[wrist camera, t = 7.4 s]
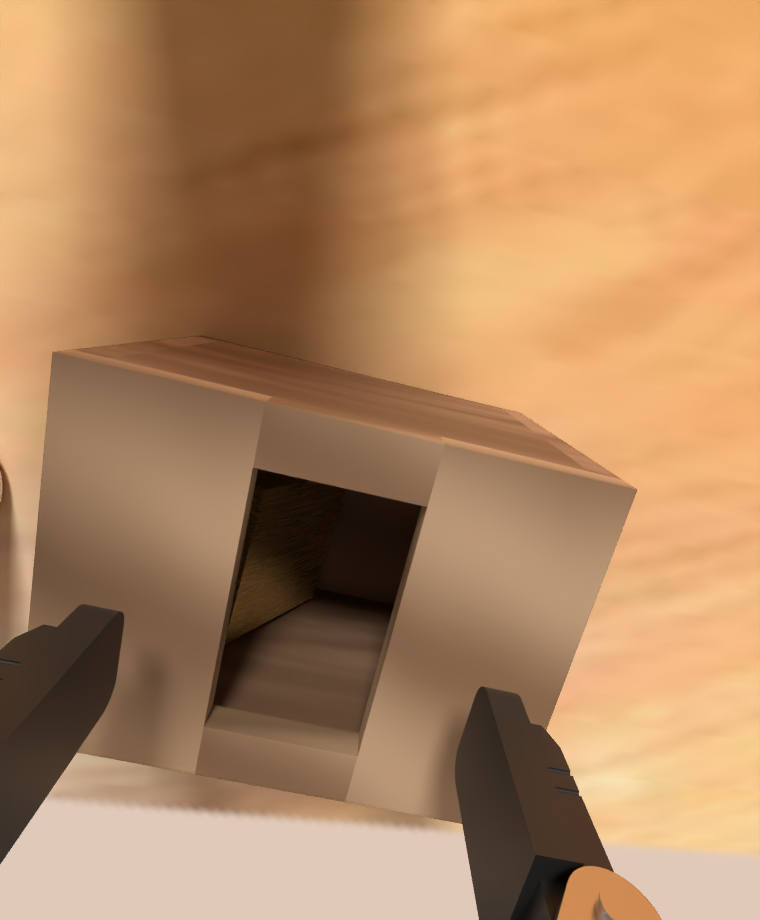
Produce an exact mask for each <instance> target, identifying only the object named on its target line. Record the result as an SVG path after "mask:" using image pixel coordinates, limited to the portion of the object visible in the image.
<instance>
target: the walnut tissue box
mask: <svg viewBox="0 0 760 920" xmlns="http://www.w3.org/2000/svg"><path fill="white" fill-rule="evenodd" d="M258 469H262V470H266V471H270V472H275V473H279V474H284V475H288V476H292V477H297V478H301V479H306V480H310V481H314V482H319V483H323V484H328V485H332V486H337V487H341V488H345V492H344V495H343V498H342V501H341V505H340V508H339V511H338V515H337V518H336V521H335V524H334V528H333V531H332V534H331V538H330V541H329V544H328V547H327V551H326V554H325V557H324V561H323V564H322V567H321V570H320V574H319V577H318V580H317V584H316V587H315V590H314V593H313V597H312V598H310V599H309V600H307V601H305V602H303V603H301V604H299V605H297V606H296V607H294V608H292V609H290V610H288V611H286V612H285V613H283V614H281V615H279V616H277V617H275V618H273V619H272V620H270V621H268V622H266V623H264V624H262V625H260V626H259V627H257V628H255V629H253V630H251V631H249V632H247V633H246V634H244V635H242V636H240V637H238V638H236V639H234V640H233V641H231V642H229V643H227V644H225V639H226V634H227V629H228V623H229V618H230V613H231V608H232V603H233V597H234V592H235V587H236V582H237V577H238V571H239V566H240V561H241V556H242V551H243V545H244V540H245V535H246V530H247V525H248V519H249V514H250V509H251V504H252V499H253V493H254V488H255V483H256V478H257V473H258ZM636 492H637V489H636V488H634V487H633V486H631V485H629V484H628V483H626V482H625V481H623V480H622V479H620V478H619V477H617V476H616V475H614V474H613V473H611V472H610V471H608V470H607V469H605V468H604V467H602V466H601V465H599V464H598V463H596V462H594V461H593V460H591V459H590V458H588V457H587V456H585V455H584V454H582V453H581V452H579V451H578V450H576V449H575V448H573V447H572V446H570V445H569V444H567V443H566V442H564V441H563V440H561V439H559V438H558V437H556V436H555V435H553V434H552V433H550V432H549V431H547V430H546V429H544V428H543V427H541V426H540V425H538V424H537V423H535V422H534V421H532V420H531V419H529V418H528V417H526V416H524V415H523V414H521V413H518V412H514V411H509V410H505V409H501V408H497V407H493V406H489V405H485V404H481V403H476V402H472V401H468V400H464V399H460V398H456V397H452V396H448V395H443V394H439V393H435V392H431V391H427V390H423V389H419V388H414V387H410V386H406V385H402V384H398V383H394V382H390V381H386V380H381V379H377V378H373V377H369V376H365V375H361V374H357V373H353V372H348V371H344V370H340V369H336V368H332V367H328V366H324V365H320V364H315V363H311V362H307V361H303V360H299V359H295V358H291V357H287V356H282V355H278V354H274V353H270V352H266V351H262V350H258V349H253V348H249V347H245V346H241V345H237V344H233V343H229V342H225V341H220V340H216V339H212V338H208V337H204V336H194V337H185V338H175V339H166V340H157V341H148V342H139V343H130V344H120V345H111V346H102V347H93V348H84V349H75V350H66V351H56V352H53V354H52V365H51V376H50V388H49V399H48V410H47V422H46V433H45V444H44V456H43V467H42V478H41V490H40V501H39V512H38V524H37V535H36V547H35V558H34V569H33V581H32V592H31V603H30V615H29V626H28V631H30V630H32V629H35V628H37V627H39V626H41V625H43V624H44V625H49V626H54V627H58V626H59V625H60V624H61V623H62V622H63V621H64V620H65V619H66V618H67V617H68V616H69V615H70V614H71V613H72V612H73V611H74V610H75V609H76V608H77V607H78V606H79V605H81V604H87V605H92V606H97V607H102V608H107V609H111V610H116V611H121V612H123V614H124V628H123V635H122V642H121V649H120V657H119V664H118V671H117V678H116V683H115V687H114V690H113V693H112V696H111V699H110V701H109V703H108V705H107V707H106V709H105V711H104V713H103V715H102V716H101V718H100V719H99V720H98V722H97V723H96V725H95V726H94V728H93V729H92V731H91V732H90V734H89V735H88V737H87V738H86V740H85V741H84V742H83V744H82V745H81V747H80V748H79V750H78V751H77V752H78V753H84V754H89V755H94V756H100V757H105V758H111V759H116V760H121V761H127V762H132V763H137V764H143V765H148V766H154V767H159V768H164V769H170V770H175V771H181V772H186V773H191V774H197V775H202V776H208V777H213V778H218V779H224V780H229V781H235V782H240V783H245V784H251V785H256V786H261V787H267V788H272V789H278V790H283V791H288V792H294V793H299V794H305V795H310V796H315V797H321V798H326V799H332V800H337V801H342V802H348V803H353V804H358V805H364V806H369V807H375V808H380V809H385V810H391V811H396V812H402V813H407V814H412V815H418V816H423V817H429V818H434V819H439V820H445V821H450V822H455V823H461V824H462V818H461V812H460V807H459V801H458V795H457V789H456V783H455V761H456V754H457V749H458V746H459V743H460V740H461V737H462V734H463V731H464V728H465V725H466V722H467V719H468V716H469V713H470V710H471V707H472V704H473V701H474V698H475V695H476V693H477V691H478V689H479V688H480V687H482V686H483V687H488V688H493V689H498V690H502V691H507V692H512V693H517V694H518V695H519V696H520V697H521V700H522V702H523V705H524V707H525V710H526V713H527V715H528V718H529V720H530V723H531V724H536V725H541V726H542V727H543V728H544V729H545V730H546V729H547V726H548V724H549V721H550V719H551V716H552V713H553V711H554V708H555V705H556V703H557V700H558V697H559V695H560V692H561V690H562V687H563V684H564V682H565V679H566V676H567V674H568V671H569V668H570V666H571V663H572V661H573V658H574V655H575V653H576V650H577V647H578V645H579V642H580V639H581V637H582V634H583V632H584V629H585V626H586V624H587V621H588V618H589V616H590V613H591V610H592V608H593V605H594V603H595V600H596V597H597V595H598V592H599V589H600V587H601V584H602V582H603V579H604V576H605V574H606V571H607V568H608V566H609V563H610V560H611V558H612V555H613V553H614V550H615V547H616V545H617V542H618V539H619V537H620V534H621V531H622V529H623V526H624V524H625V521H626V518H627V516H628V513H629V510H630V508H631V505H632V502H633V500H634V497H635V495H636ZM224 644H225V645H224Z"/></svg>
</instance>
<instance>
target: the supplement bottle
mask: <svg viewBox="0 0 760 920" xmlns="http://www.w3.org/2000/svg"><path fill="white" fill-rule="evenodd" d="M1 498H2V476H1V472H0V502H1Z"/></svg>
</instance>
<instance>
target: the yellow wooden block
mask: <svg viewBox="0 0 760 920" xmlns="http://www.w3.org/2000/svg"><path fill="white" fill-rule="evenodd" d="M344 492H345V488H341V487H337V486H332V485H328V484H323V483H319V482H314V481H310V480H306V479H301V478H297V477H292V476H288V475H284V474H279V473H275V472H270V471H266V470H262V469H258V473H257V478H256V483H255V488H254V493H253V499H252V504H251V509H250V514H249V519H248V525H247V530H246V535H245V540H244V545H243V551H242V556H241V561H240V566H239V571H238V577H237V582H236V587H235V592H234V597H233V603H232V608H231V613H230V618H229V623H228V629H227V634H226V639H225V644H227V643H229V642H231V641H233V640H234V639H236V638H238V637H240V636H242V635H244V634H246V633H247V632H249V631H251V630H253V629H255V628H257V627H259V626H260V625H262V624H264V623H266V622H268V621H270V620H272V619H273V618H275V617H277V616H279V615H281V614H283V613H285V612H286V611H288V610H290V609H292V608H294V607H296V606H297V605H299V604H301V603H303V602H305V601H307V600H309V599H310V598H312V597H313V593H314V590H315V587H316V584H317V580H318V577H319V574H320V570H321V567H322V564H323V561H324V557H325V554H326V551H327V547H328V544H329V541H330V538H331V534H332V531H333V528H334V524H335V521H336V518H337V515H338V511H339V508H340V505H341V501H342V498H343V495H344ZM225 644H224V645H225Z"/></svg>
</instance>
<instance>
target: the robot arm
mask: <svg viewBox="0 0 760 920" xmlns="http://www.w3.org/2000/svg"><path fill="white" fill-rule="evenodd" d="M123 628H124V614H123V612H121V611H116V610H111V609H107V608H102V607H97V606H92V605H87V604H81V605H79V606H78V607H77V608H76V609H75V610H74V611H73V612H72V613H71V614H70V615H69V616H68V617H67V618H66V619H65V620H64V621H63V622H62V623H61V624H60V625H59V626H58V627H54V626H49V625H44V624H43V625H41V626H39V627H37V628H35V629H32V630H30V631H28V632H26V633H24V634H22V635H20V636H17V637H15V638H14V639H13V640H11V641H10V642H9V643H8V644H7V645H6V646H5V647H4V648H2V649H1V650H0V864H1V862H2V861H3V859H4V858H5V857H6V855H7V854H8V852H9V851H10V849H11V848H12V846H13V845H14V843H15V842H16V840H17V839H18V838H19V836H20V835H21V833H22V832H23V830H24V828H25V827H26V826H27V824H28V823H29V821H30V820H31V819H32V817H33V816H34V814H35V812H36V811H37V810H38V808H39V807H40V805H41V804H42V802H43V801H44V800H45V798H46V797H47V795H48V794H49V792H50V791H51V789H52V788H53V786H54V785H55V783H56V782H57V780H58V779H59V778H60V776H61V775H62V773H63V772H64V770H65V769H66V767H67V766H68V764H69V763H70V761H71V760H72V759H73V757H74V756H75V754H76V753H77V751H78V750H79V748H80V747H81V745H82V744H83V742H84V741H85V740H86V738H87V737H88V735H89V734H90V732H91V731H92V729H93V728H94V726H95V725H96V723H97V722H98V720H99V719H100V718H101V716H102V715H103V713H104V711H105V709H106V707H107V705H108V703H109V701H110V699H111V696H112V693H113V690H114V687H115V683H116V678H117V671H118V664H119V657H120V649H121V642H122V635H123ZM455 783H456V789H457V795H458V801H459V807H460V812H461V818H462V824H463V830H464V835H465V841H466V847H467V853H468V858H469V864H470V870H471V876H472V881H473V887H474V893H475V899H476V904H477V910H478V916H479V920H661V918H660V916H659V914H658V913H657V911H656V910H655V908H654V907H653V906H652V904H651V903H650V902H649V901H648V899H647V898H646V897H645V896H644V895H643V894H642V893H641V892H640V891H639V890H638V889H637V888H636V887H635V886H633V885H632V884H631V883H630V882H628V881H627V880H626V879H624V878H623V877H621V876H619V875H617V874H616V873H614V871H613V869H612V867H611V864H610V862H609V860H608V857H607V855H606V853H605V850H604V848H603V846H602V843H601V841H600V839H599V836H598V834H597V832H596V829H595V827H594V825H593V822H592V820H591V818H590V816H589V813H588V811H587V809H586V806H585V804H584V802H583V799H582V797H581V796H579V790H578V788H577V785H576V783H575V781H574V778H573V776H570V769H569V767H568V765H567V762H566V760H565V758H564V755H563V753H562V751H561V748H560V747H559V746H558V744H557V743H556V742H555V741H554V740H553V739H552V737H551V736H550V735H549V734H548V733H547V731H546V730H545V729H544V728H543V727H542V726H541V725H536V724H531V723H530V720H529V718H528V715H527V713H526V710H525V707H524V705H523V702H522V700H521V697H520V696H519V695H518V694H517V693H512V692H507V691H502V690H498V689H493V688H488V687H483V686H482V687H480V688H479V689H478V691H477V693H476V695H475V698H474V701H473V704H472V707H471V710H470V713H469V716H468V719H467V722H466V725H465V728H464V731H463V734H462V737H461V740H460V743H459V746H458V749H457V754H456V761H455Z"/></svg>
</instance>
